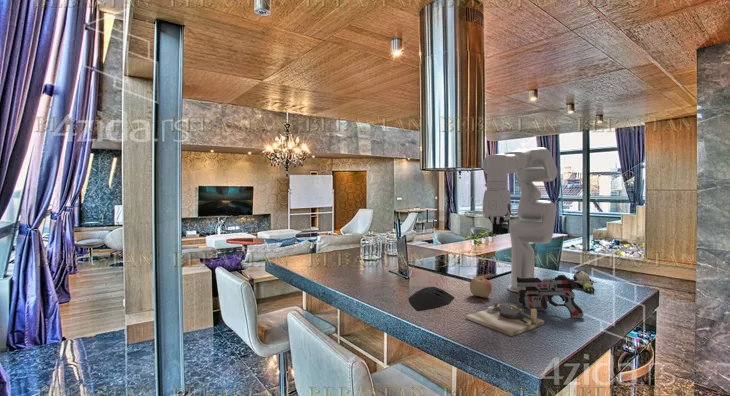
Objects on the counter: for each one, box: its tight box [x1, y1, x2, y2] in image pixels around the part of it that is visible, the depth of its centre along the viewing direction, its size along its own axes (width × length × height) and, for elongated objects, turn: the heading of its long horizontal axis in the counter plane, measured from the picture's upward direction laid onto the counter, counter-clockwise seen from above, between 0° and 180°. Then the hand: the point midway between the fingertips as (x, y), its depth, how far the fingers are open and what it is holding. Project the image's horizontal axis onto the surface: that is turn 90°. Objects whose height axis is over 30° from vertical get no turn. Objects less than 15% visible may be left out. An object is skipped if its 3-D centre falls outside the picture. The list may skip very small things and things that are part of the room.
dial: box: [499, 302, 538, 325], centre depth 122 cm, size 14×8×5 cm, turn 23°
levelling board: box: [465, 302, 545, 337], centre depth 123 cm, size 18×18×4 cm
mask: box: [407, 286, 455, 312], centre depth 146 cm, size 17×5×30 cm
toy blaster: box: [517, 274, 584, 319], centre depth 132 cm, size 4×21×15 cm, turn 51°
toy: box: [572, 270, 598, 294], centre depth 163 cm, size 10×7×15 cm
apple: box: [469, 276, 493, 298], centre depth 151 cm, size 9×9×8 cm
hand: (497, 233), depth 137 cm, fingers closed
